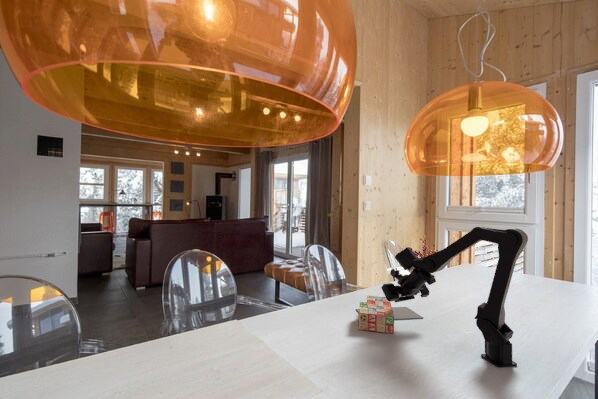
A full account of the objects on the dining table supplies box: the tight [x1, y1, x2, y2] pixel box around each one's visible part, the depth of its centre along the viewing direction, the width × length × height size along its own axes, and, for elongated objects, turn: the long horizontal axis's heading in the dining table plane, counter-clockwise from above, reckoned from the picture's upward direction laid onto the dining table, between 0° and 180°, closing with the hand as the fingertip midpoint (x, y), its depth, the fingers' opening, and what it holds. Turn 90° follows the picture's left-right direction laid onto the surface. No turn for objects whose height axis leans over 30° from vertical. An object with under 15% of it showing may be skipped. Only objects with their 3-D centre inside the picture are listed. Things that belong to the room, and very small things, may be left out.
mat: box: [355, 306, 424, 321], centre depth 123 cm, size 13×24×1 cm, turn 99°
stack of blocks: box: [358, 295, 395, 335], centre depth 115 cm, size 21×6×12 cm
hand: (395, 301), depth 116 cm, fingers closed
